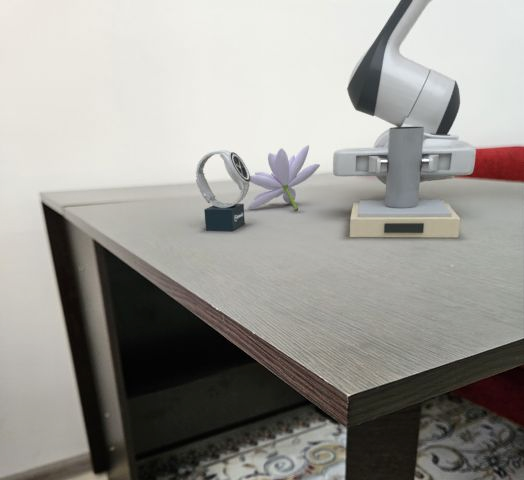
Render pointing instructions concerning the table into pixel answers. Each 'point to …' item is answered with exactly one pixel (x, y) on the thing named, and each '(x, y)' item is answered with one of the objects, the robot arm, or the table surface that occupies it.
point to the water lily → (282, 177)
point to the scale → (404, 220)
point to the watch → (221, 213)
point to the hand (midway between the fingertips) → (404, 165)
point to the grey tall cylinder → (404, 166)
